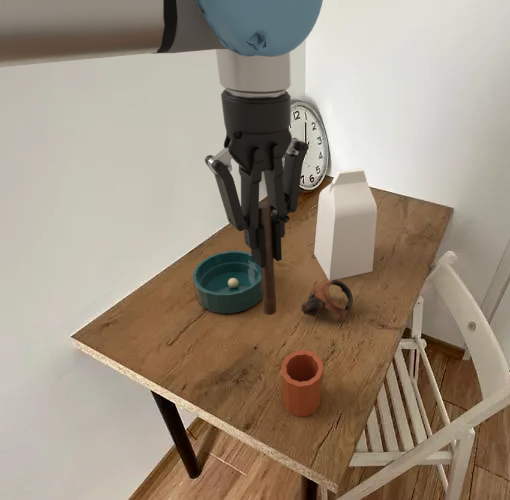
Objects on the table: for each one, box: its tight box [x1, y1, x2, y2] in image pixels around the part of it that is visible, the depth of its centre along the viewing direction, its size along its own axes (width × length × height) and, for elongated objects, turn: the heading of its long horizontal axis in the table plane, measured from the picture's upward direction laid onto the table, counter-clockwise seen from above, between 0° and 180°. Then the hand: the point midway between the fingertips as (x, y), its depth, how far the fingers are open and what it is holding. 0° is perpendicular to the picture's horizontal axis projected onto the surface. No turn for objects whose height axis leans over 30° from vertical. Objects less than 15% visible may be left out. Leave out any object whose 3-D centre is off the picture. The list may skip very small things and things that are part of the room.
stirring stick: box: [258, 201, 277, 316], centre depth 53 cm, size 2×2×20 cm
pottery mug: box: [301, 279, 354, 323], centre depth 77 cm, size 12×9×8 cm
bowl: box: [192, 250, 263, 314], centre depth 81 cm, size 15×15×6 cm
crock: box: [280, 349, 324, 418], centre depth 59 cm, size 7×7×9 cm
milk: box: [313, 167, 378, 282], centre depth 86 cm, size 12×12×26 cm
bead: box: [228, 278, 239, 288], centre depth 82 cm, size 2×2×2 cm
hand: (266, 259), depth 53 cm, fingers closed on stirring stick, 2 cm apart
